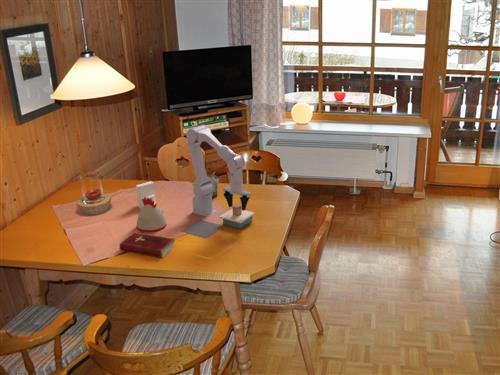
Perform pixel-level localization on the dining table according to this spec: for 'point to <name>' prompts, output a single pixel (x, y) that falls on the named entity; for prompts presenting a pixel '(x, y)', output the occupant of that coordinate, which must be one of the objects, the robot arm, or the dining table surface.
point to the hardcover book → (147, 244)
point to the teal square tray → (237, 225)
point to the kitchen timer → (150, 217)
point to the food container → (215, 182)
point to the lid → (237, 214)
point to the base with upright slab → (145, 193)
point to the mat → (203, 229)
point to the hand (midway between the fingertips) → (237, 208)
